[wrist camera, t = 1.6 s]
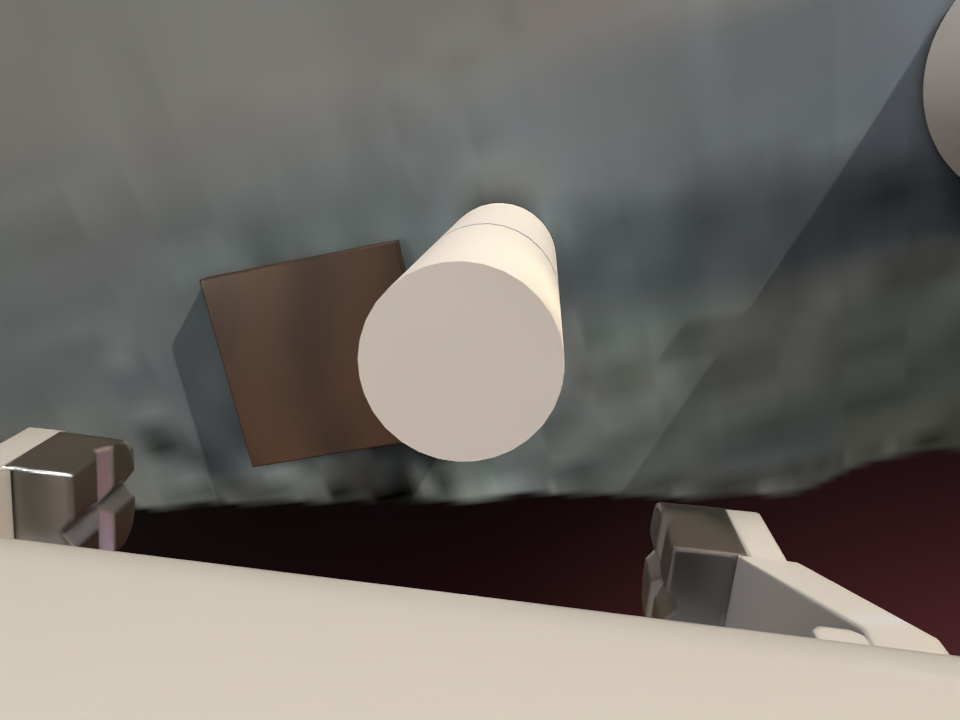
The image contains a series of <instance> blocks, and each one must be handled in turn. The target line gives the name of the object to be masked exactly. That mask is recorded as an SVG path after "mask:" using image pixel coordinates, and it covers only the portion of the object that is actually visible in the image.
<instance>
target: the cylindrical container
mask: <svg viewBox="0 0 960 720" xmlns="http://www.w3.org/2000/svg"><path fill="white" fill-rule="evenodd" d="M358 368H359V378H360V381H361V385H362V388H363V392H364V395H365V397H366V399H367V401H368V403H369V405H370V407H371V409H372V411H373V412H374V414H375V415H376V416H377V418H378V419H379V420H380V421H381V423H382V424H383V425H384V427H385V428H386V429H387V430H388V431H390V432H391V433H392V434H393V435H394V436H395V437H396V438H398V439H399V440H400V441H401V442H403V443H404V444H406V445H408V446H410V447H411V448H413V449H415V450H416V451H418V452H421V453H424V454H426V455H429V456H432V457H435V458H438V459H444V460H450V461H457V462H459V461H479V460H484V459H489V458H494V457H496V456H499V455H501V454H504V453H506V452H509V451H511V450H513V449H514V448H516V447H517V446H519V445H521V444H522V443H524V442H525V441H527V440H528V439H529V438H530V437H531V436H532V435H533V434H534V433H535V432H536V431H537V430H538V429H539V428H540V427H541V426H542V425H543V424H544V423H545V421H546V420H547V418H548V417H549V415H550V413H551V412H552V410H553V409H554V407H555V404H556V402H557V399H558V397H559V394H560V391H561V388H562V382H563V376H564V347H563V335H562V322H561V310H560V298H559V286H558V274H557V262H556V252H555V247H554V243H553V240H552V238H551V236H550V233H549V231H548V230H547V229H546V227H545V226H544V224H543V223H542V222H541V221H540V220H539V219H538V218H537V217H536V216H535V215H534V214H532V213H530V212H529V211H527V210H525V209H524V208H521V207H518V206H515V205H512V204H505V203H493V204H487V205H483V206H480V207H478V208H476V209H474V210H471V211H470V212H468V213H467V214H466V215H464V216H463V217H462V218H461V219H460V220H459V221H457V222H456V223H455V224H454V225H453V226H452V227H451V228H450V229H449V230H448V231H447V232H446V233H445V234H444V235H443V236H442V237H441V238H440V239H439V240H438V241H437V242H436V243H435V244H434V245H433V246H432V247H431V248H430V249H428V250H427V251H426V252H425V253H424V254H423V255H422V256H421V257H420V258H419V259H418V260H417V261H416V262H415V263H414V264H413V265H412V266H411V267H410V268H409V269H408V270H407V271H406V272H405V273H404V274H403V275H402V276H400V277H399V278H398V279H397V280H396V281H395V282H394V283H393V284H392V285H391V286H390V287H389V288H388V289H387V290H386V292H385V293H384V294H383V295H382V296H381V297H380V298H379V299H378V300H377V302H376V303H375V305H374V306H373V308H372V310H371V312H370V313H369V315H368V317H367V319H366V320H365V324H364V327H363V330H362V333H361V336H360V340H359V350H358Z"/></svg>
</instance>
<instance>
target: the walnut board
mask: <svg viewBox="0 0 960 720" xmlns="http://www.w3.org/2000/svg"><path fill="white" fill-rule="evenodd" d="M405 272H406V270H405V266H404V261H403V257H402V252H401V248H400V243H399V240H394V241H389V242H384V243H379V244H374V245H368V246H363V247H358V248H353V249H348V250H343V251H338V252H333V253H328V254H323V255H318V256H312V257H307V258H302V259H297V260H292V261H287V262H282V263H277V264H272V265H267V266H262V267H257V268H251V269H246V270H241V271H236V272H231V273H226V274H221V275H216V276H211V277H206V278H204V279H202V280H200V284H201V287H202V291H203V294H204V298H205V301H206V305H207V308H208V312H209V315H210V319H211V322H212V326H213V329H214V333H215V336H216V340H217V343H218V347H219V350H220V354H221V357H222V361H223V364H224V368H225V371H226V375H227V378H228V382H229V385H230V389H231V392H232V396H233V399H234V403H235V406H236V410H237V413H238V417H239V420H240V424H241V427H242V431H243V434H244V438H245V441H246V445H247V448H248V452H249V455H250V459H251V462H252V466H253V467H257V466H263V465H269V464H275V463H281V462H287V461H293V460H299V459H305V458H311V457H318V456H324V455H330V454H336V453H342V452H348V451H354V450H360V449H366V448H372V447H378V446H384V445H390V444H396V443H402V442H401V441H400V440H399V439H398V438H396V437H395V436H394V435H393V434H392V433H391V432H390V431H388V430H387V429H386V428H385V427H384V425H383V424H382V423H381V421H380V420H379V419H378V418H377V416H376V415H375V414H374V412H373V411H372V409H371V407H370V405H369V403H368V401H367V399H366V397H365V395H364V392H363V388H362V385H361V381H360V378H359V368H358V350H359V340H360V336H361V333H362V330H363V327H364V324H365V320H366V319H367V317H368V315H369V313H370V312H371V310H372V308H373V306H374V305H375V303H376V302H377V300H378V299H379V298H380V297H381V296H382V295H383V294H384V293H385V292H386V290H387V289H388V288H389V287H390V286H391V285H392V284H393V283H394V282H395V281H396V280H397V279H398V278H399V277H400V276H402V275H403V274H404V273H405Z"/></svg>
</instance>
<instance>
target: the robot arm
mask: <svg viewBox="0 0 960 720" xmlns="http://www.w3.org/2000/svg"><path fill="white" fill-rule="evenodd" d="M923 103H924V112H925V117H926V122H927V125H928V129H929V132H930V135H931V137H932V140H933V142H934V144H935V146H936V148H937V150H938V151H939V153H940V155H941V156H942V158H943V159H944V160H945V162H946V163H947V164H948V165H949V167H950V168H951V169H952V170H953V171H954V172H955V173H956V174H957V175H958V176H959V177H960V0H956V1H955V2H954V3H953V5H952V6H951V8H950V9H949V11H948V12H947V14H946V15H945V17H944V19H943V21H942V22H941V24H940V26H939V28H938V30H937V32H936V34H935V37H934V39H933V42H932V45H931V48H930V51H929V54H928V58H927V62H926V67H925V72H924V81H923ZM133 471H134V460H133V449H132V447H131V445H130V444H129V442H128V441H127V440H119V439H112V438H105V437H97V436H90V435H82V434H75V433H67V432H64V431H61V430H51V429H41V428H30V427H29V428H27V429H26V430H24V431H22V432H20V433H18V434H17V435H15V436H13V437H11V438H9V439H8V440H6V441H4V442H2V443H0V720H960V656H953V655H949V653H948V652H947V651H946V649H945V648H944V647H943V646H942V644H941V643H940V642H939V640H938V639H936V638H934V637H932V636H931V635H929V634H927V633H925V632H923V631H921V630H920V629H918V628H916V627H914V626H912V625H910V624H909V623H907V622H905V621H903V620H901V619H899V618H898V617H896V616H894V615H892V614H890V613H889V612H887V611H885V610H883V609H881V608H879V607H878V606H876V605H874V604H872V603H870V602H868V601H867V600H865V599H863V598H861V597H859V596H857V595H856V594H853V593H852V592H850V591H848V590H846V589H845V588H843V587H841V586H839V585H837V584H836V583H834V582H832V581H830V580H828V579H826V578H825V577H823V576H820V575H819V574H817V573H815V572H814V571H812V570H810V569H808V568H806V567H804V566H802V565H801V564H799V563H796V562H789V561H787V560H786V559H785V557H784V555H783V554H782V552H781V550H780V548H779V547H778V545H777V544H776V542H775V540H774V538H773V536H772V535H771V533H770V531H769V530H768V528H767V526H766V524H765V523H764V521H763V519H762V518H761V516H760V514H758V513H755V512H746V511H736V510H725V509H724V508H714V507H704V506H693V505H683V504H672V503H662V502H659V503H658V504H657V505H656V506H655V509H654V513H653V517H652V523H651V528H650V534H651V538H652V542H653V546H654V551H653V552H652V553H651V554H650V555H649V556H648V557H647V558H646V559H645V566H644V574H643V582H642V610H643V616H644V617H640V616H632V615H624V614H615V613H608V612H600V611H592V610H584V609H576V608H568V607H560V606H552V605H543V604H536V603H527V602H520V601H511V600H504V599H496V598H487V597H479V596H471V595H463V594H455V593H447V592H439V591H431V590H423V589H414V588H406V587H399V586H390V585H383V584H375V583H366V582H358V581H350V580H342V579H334V578H326V577H317V576H310V575H302V574H294V573H285V572H278V571H269V570H261V569H253V568H245V567H237V566H229V565H221V564H213V563H205V562H197V561H189V560H181V559H173V558H165V557H157V556H148V555H140V554H132V553H124V552H117V551H118V550H119V549H120V548H121V547H122V546H123V545H124V544H125V542H126V539H127V537H128V535H129V533H130V531H131V528H132V524H133V518H134V512H135V497H134V495H133V494H132V492H131V491H130V489H129V488H128V486H127V485H126V483H125V481H126V479H127V478H128V477H129V476H130V474H131V473H132V472H133Z"/></svg>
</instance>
